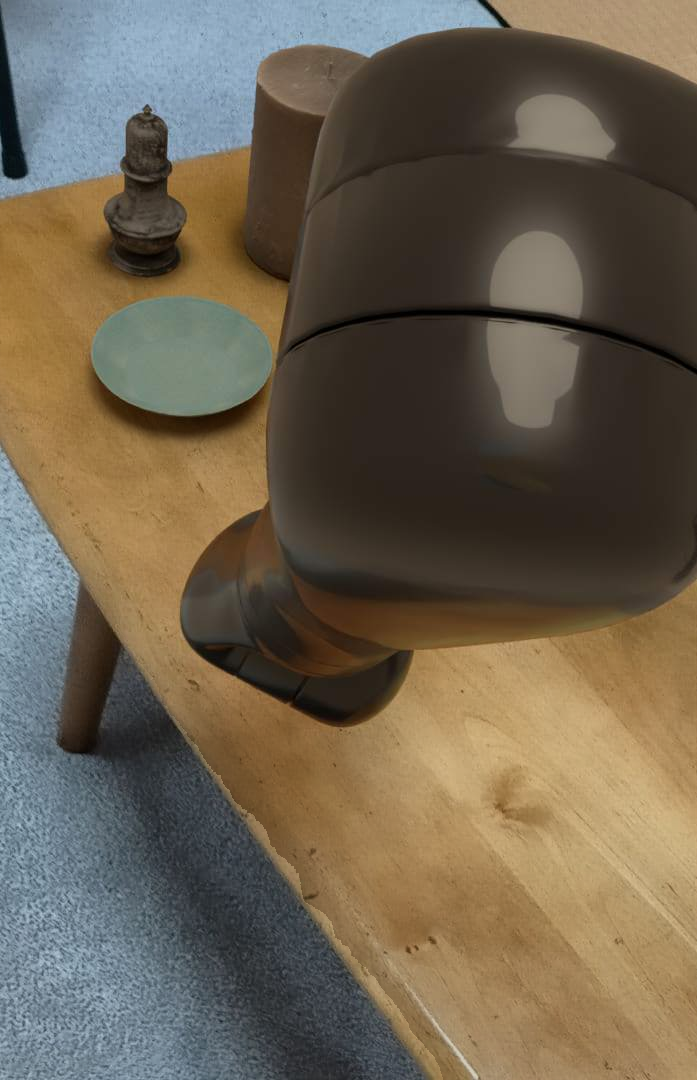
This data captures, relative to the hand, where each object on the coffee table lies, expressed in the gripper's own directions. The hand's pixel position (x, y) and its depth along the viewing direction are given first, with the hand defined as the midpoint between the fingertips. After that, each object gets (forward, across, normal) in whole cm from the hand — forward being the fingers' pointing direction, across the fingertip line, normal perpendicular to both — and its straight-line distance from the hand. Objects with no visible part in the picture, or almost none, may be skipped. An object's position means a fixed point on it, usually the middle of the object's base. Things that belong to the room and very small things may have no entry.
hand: (490, 239), depth 77 cm
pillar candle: (+9, +15, +12) cm, 21 cm away
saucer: (-9, +17, +12) cm, 22 cm away
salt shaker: (+2, +25, +12) cm, 27 cm away
